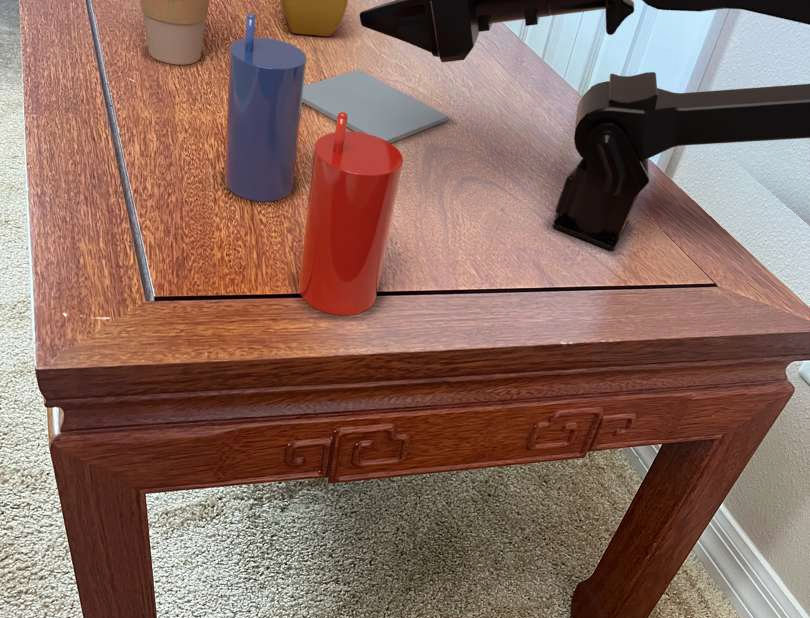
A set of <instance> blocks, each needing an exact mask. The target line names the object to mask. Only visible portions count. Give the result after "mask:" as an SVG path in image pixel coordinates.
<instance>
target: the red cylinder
mask: <svg viewBox="0 0 810 618" xmlns="http://www.w3.org/2000/svg"><path fill="white" fill-rule="evenodd" d="M347 118H348V117H347V114H346V113H345V112H340V113H339V114H338V116H337V121H336V124H335V131H334V132H330V133H327V134H324V135H322V136H320V137H319V138H318V139H317V141H316V142H315V144H314V151H313V159H312V169H311V176H310V177H311V178H310V185H309V187H310V188H309V194H308V201H307V211H306V220H305V227H304V236H303V245H302V252H301V263H300V269H299V279H298V292H299V294H300V296H301V298H302V299H303V301H305V303H307V304H308V305H309V306H311V307H313V308H314V309H316V310H318V311H320V312H323V313H326V314H331V315H336V316H352V315H357V314H361V313H365V311H368V310H369V309H370V308H371V307H372V306H373V305H374V303H375V302H376V300H377V295H378V291H379V285H380V280H381V275H382V270H383V263H384V260H385V254H386V249H387V244H388V239H389V234H390V229H391V224H392V220H393V219H392V218H393V213H394V208H395V204H396V198H397V194H398V188H399V184H400V178H401V174H402V173H401V172H402V169H403V163H404V158H403V155H402V153H401V151H400V150H399V149H398V148H397V147H396V146H395V145H394V144H392V143H389V142H387V141H385V140H383V139H381V138H379V137H376V136H373V135H370V134H365V133H360V132H355V131H352V130H350V131H349V130H348V131H347V127H346V125H347Z"/></svg>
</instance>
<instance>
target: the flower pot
mask: <svg viewBox="0 0 810 618" xmlns="http://www.w3.org/2000/svg"><path fill="white" fill-rule="evenodd" d="M279 1H280V4H281V7H282V10H283V13H284V16H285V18H286V22H287V25H288V27H289V30H290V32H291V33H292V34H295V35H309V36H311V35H312V36H322V37H330V36H331V35H332V34H333V33H334V32H335V30H336V29H337V28H338V26H339V25H340V23H341V22H342V19H343V17H344V15H345V13H346V10H347V6H348V2H349V0H279Z"/></svg>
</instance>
